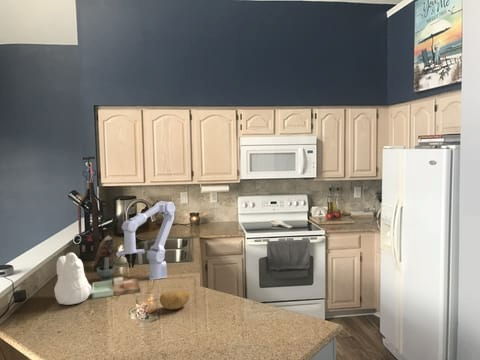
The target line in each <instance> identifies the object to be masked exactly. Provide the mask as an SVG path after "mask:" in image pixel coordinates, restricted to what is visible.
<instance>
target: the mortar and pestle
mask: <svg viewBox="0 0 480 360" xmlns="http://www.w3.org/2000/svg"><path fill="white" fill-rule="evenodd" d="M104 260H105V261H104V266H102V267H99V268H97V271H96V274H97V275H96V276H98V278H100V282H101V281H108V280H112V281H113V277H114V274H115V271H116V266H114V265H113V266H109V257H105V258H104Z"/></svg>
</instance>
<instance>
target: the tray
mask: <svg viewBox="0 0 480 360" xmlns="http://www.w3.org/2000/svg"><path fill="white" fill-rule="evenodd" d="M113 282H114V281H113V279H112V280H108V281H101V280H100V281H95V282H92V285H91V289H92V293H91V300H96V299H103V298H109V297H115V296H114V295H113Z"/></svg>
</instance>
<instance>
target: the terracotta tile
mask: <svg viewBox="0 0 480 360" xmlns="http://www.w3.org/2000/svg"><path fill="white" fill-rule="evenodd" d="M126 280H127V281H123V286H124V288H127V287H133V282H132V280H130V279H126Z"/></svg>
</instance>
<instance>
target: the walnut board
mask: <svg viewBox="0 0 480 360" xmlns="http://www.w3.org/2000/svg"><path fill="white" fill-rule="evenodd" d="M127 280H128V279H125V280H124V279H123V281H127ZM129 280H132V282H133V287H127V288H124V286H123V283H122V284H115V285H114V281H112V282H113V295H114V296H113V297H116V296H123V295H129V294H130V295H131V294H137V293H141V287H140V284H139V280H138V278H131V279H129Z"/></svg>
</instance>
